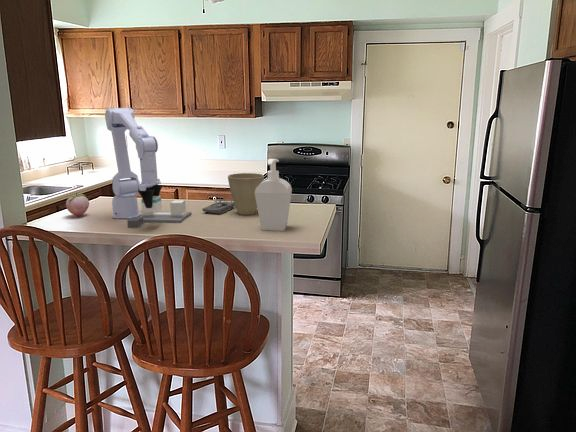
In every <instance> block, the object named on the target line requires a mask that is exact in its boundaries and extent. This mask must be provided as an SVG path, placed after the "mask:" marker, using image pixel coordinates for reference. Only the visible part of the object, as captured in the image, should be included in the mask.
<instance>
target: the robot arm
mask: <svg viewBox="0 0 576 432" xmlns="http://www.w3.org/2000/svg"><path fill="white" fill-rule="evenodd" d="M104 118H105V125H106V128H107V130H108V131H110V132H111V137H112V142H113V147H114V154H115V160H116V165H117V166H116V167H117V173H116V174H114V176H113V177H112V180H111V181H112V192H113V194H114V196H113V198H112V202H111V206H112V214H113V215H112V219H130V218H132V217H141V216H142V212H139V205H138V195H140V197H141V198H142V199H143V201H144V204H145V207H146V208H152V199H153V196H160V193H161V191H162V188H163V186H162V185H161V184H162V182H161V179H160V178H159V177H158V167H157V155H156V153H157V152H158V149H159V143H158V140H157V138H156V137H155V136H154V135H153V136H152V135H149V134H148V132H147V131H146V130H145V128H144V127H143V126H141V125H138V123H137V122H136V120H135V111H134V110H133V109H132V107H115V108H113V107H112V108H111V107H107V108H106V110H105V114H104ZM127 130H128V131H129V132H128V133H129V134H128V135H129V137H130V138H131V139H132V141H133V143H135V149H136V150H135V151H136V152H137V157H138V159H139V166H140V177H141V178H140V179H141V181H140V179H139V177H138V174H137V173H135V172H133V171H132V169H131V163H130V158H129V152H128V151H129V150H128V146H127V139H126V131H127ZM140 182H141V183H140ZM142 199H141V200H142Z"/></svg>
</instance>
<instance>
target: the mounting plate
mask: <svg viewBox="0 0 576 432" xmlns="http://www.w3.org/2000/svg"><path fill="white" fill-rule="evenodd" d="M140 204H141V205H142V201H141V203H140ZM169 205H170V211H157V212H143V211H142V210H141V213H142V214H141V217H143V223H158V224H160V223H163V224H165V223H167V224H168V223H169V224H170V223H171V224H180V223H182V222H183V221H185V220H186V219H187V218H189V217H190V216H192V211H187V210H186V209H187V208H186V200H181V199H180V200H177V199H175V200H173V201H171V202H170V203H169Z"/></svg>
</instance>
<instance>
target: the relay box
mask: <svg viewBox="0 0 576 432" xmlns="http://www.w3.org/2000/svg"><path fill="white" fill-rule="evenodd" d="M144 224H145V222H143V217H142V216H138V217H132V218H128V220H127V228H129V229H130V228H131V229H132V228H134V229H137V228H140V227H142V226H143V225H144Z"/></svg>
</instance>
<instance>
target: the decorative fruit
mask: <svg viewBox="0 0 576 432" xmlns="http://www.w3.org/2000/svg"><path fill="white" fill-rule="evenodd" d="M65 208H66V209H67V211H68V212H69V213H70V214H71V215H73V216H77V217H81V216H82V215H83V214H85V213H86V212H87V211H88V209H89V208H90V200H89V199H88V198H87V197H86V195H85V194H83V193H79V194H78V193H77V192H76V193H75V195H73V196H70V197H69V198H67V200H66V201H65Z"/></svg>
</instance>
